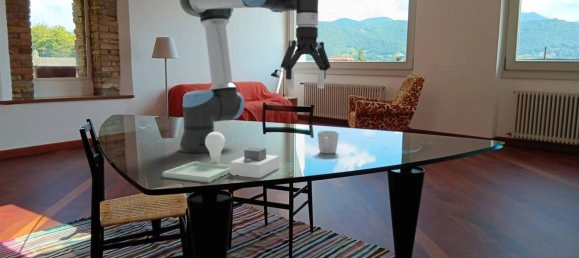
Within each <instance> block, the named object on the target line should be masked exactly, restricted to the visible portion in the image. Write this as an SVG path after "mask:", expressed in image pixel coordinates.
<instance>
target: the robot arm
mask: <svg viewBox="0 0 579 258" xmlns="http://www.w3.org/2000/svg"><path fill="white" fill-rule="evenodd" d="M179 3H180V6H181V8H182V10H183V11H184V12H185V13H186V14H188V15H190V16H192V17H197V18H199V20H200V24H201V26H203V27H204V30H205V38H206V39H205V40H206V47H207V55H208V64H209V72H210V73H209V74H210V82H211V86H210V87H209V88H208V89H201V90H193V91H187V92H186V93H184V95H183V96H182V111H183V112H182V113H183V114H182V115H183V133H182V136H181V140H180V143H179V151H180V152H182V153H187V154H200V153H201V154H203V153H210V152H209V150H208V149H207V147H206V145H205V139H206V137H207V135H208V134H209V133H211V132H215V123H216V122H224V121H226V122H227V121H232V120H236V119H238V118H239V117H240V116H241V115H242V113H243V112H244V109H245V99H244V96H243V95H242V94H241V93H240V92H239V91H238V87H237V86H236V85H235V84H234V83H233V76H232V68H231V61H230V51H229V50H230V49H229V41H228V34H227V32H228V31H227V25H228V24H229V22H230V18H231V17H232V16H233V12H234V9H245V8H246V9H247V8H251V9H252V8H262V9H268V10H270V11H271V12H272V13H286V12H293V11H295V26H297V27H296V28H295V37H296V40H295V39H292V40H291V39H290V40H288V47H287V50H286V52H285V54H284V57H283V59H282V62H281V64H280V68H283V70H285V79H286V81H287V82H286V83H287V88H286V89H287V90H294V89H295V70H294V69H293V68H294V66H295V65H296V64H297V62H298V60H299V59H300V58H301V56H302V55H310V56H311V57H312V59H313V61H314V62H315V64H316V66H317V67H318V70H317V89H320V90H322V89H325V80H326V77H327V76H326V75H327V73H326V72H327V71H328V69H330V68H331V63H330V60H329V58H328V56H327V53H326V52H327V51H326V50H325V43H324V41H317V39H318V37H319V29H318V27H317V26H318V25H319V0H179Z"/></svg>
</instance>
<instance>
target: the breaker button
mask: <svg viewBox="0 0 579 258" xmlns="http://www.w3.org/2000/svg"><path fill="white" fill-rule="evenodd" d="M243 152H244V155H243V157H244V159H247V158H249V159H252V161H261V160H264V159H266V155H267V148H265V147H264V148H261V147H250V148H247V149H244V150H243Z"/></svg>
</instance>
